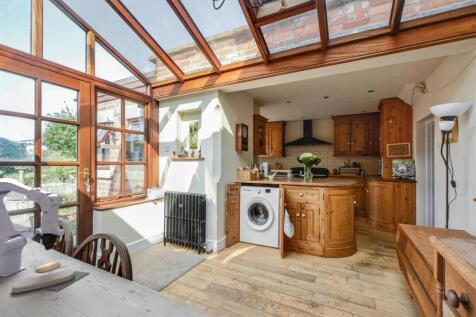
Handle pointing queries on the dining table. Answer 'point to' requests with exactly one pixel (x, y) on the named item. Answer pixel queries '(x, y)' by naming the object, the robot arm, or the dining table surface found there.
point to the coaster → (48, 267)
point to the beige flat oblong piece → (43, 281)
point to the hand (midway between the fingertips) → (48, 249)
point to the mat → (62, 285)
